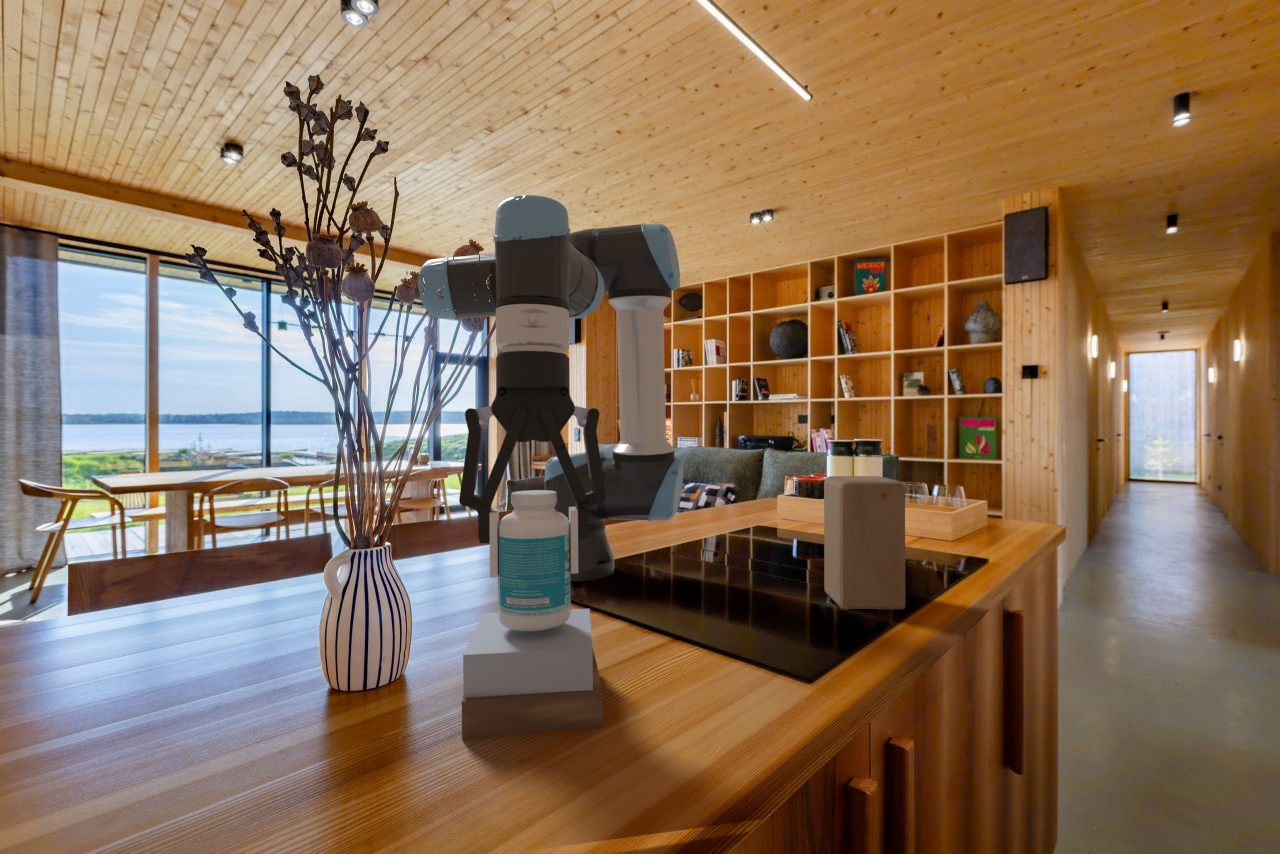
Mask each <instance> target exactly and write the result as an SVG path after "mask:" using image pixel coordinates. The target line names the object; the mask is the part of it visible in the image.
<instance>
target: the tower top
mask: <svg viewBox="0 0 1280 854" xmlns="http://www.w3.org/2000/svg"><path fill="white" fill-rule="evenodd" d="M590 609H591V608H574V609H572V608H571V613H570V617H569V619H568V620H567V621H566V622H565V623H563V624H562V625H560V626H557V627H555V628H551V629H546V630H540V631H518V630H513V629H509V628H507V627H505V626H503V625H502V624H501V622H500V620H499V612H487V613H486V612H483V613H482V615H481V617H480V620H479V621H478V623H477V626H476V628H475V630H474V632H473V633H472V636H471V638H470V640H469V642H468V644H467V647H466V648H465V650H464V652H463V654H462V655H463V657H462V659H463V660H462V661H463V662H462V667H463V668H462V669H463V672H462V673H463V674H462V675H463V677H462V678H463V680H462V681H463V685H462V686H463V695H464V698H466V697H484V696H502V695H519V694H536V693H553V692H570V691H587V690H593V651H594V648H593V649H592V646H593V639H592V637H593V636H592V625H591V624H592V623H591V612H590V611H591V610H590Z"/></svg>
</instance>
